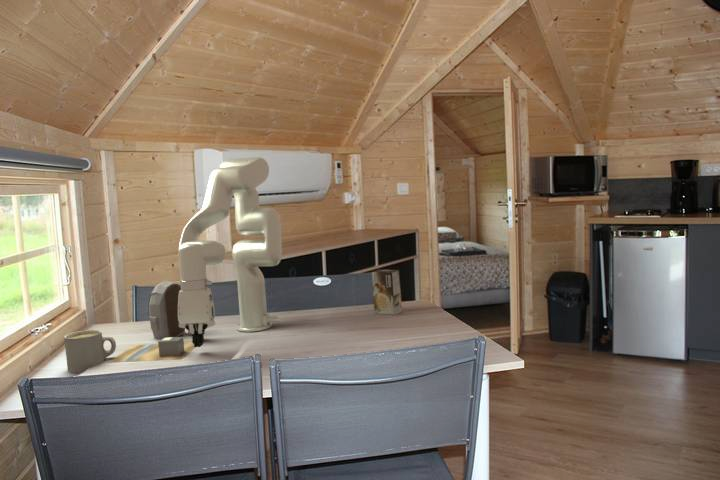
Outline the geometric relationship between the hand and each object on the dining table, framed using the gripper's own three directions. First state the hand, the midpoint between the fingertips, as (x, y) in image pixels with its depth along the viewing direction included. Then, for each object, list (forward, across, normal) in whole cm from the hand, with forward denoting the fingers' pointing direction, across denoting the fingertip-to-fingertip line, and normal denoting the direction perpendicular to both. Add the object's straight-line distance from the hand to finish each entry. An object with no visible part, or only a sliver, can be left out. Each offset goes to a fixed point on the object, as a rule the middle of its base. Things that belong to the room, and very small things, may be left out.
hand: (198, 345), depth 175 cm
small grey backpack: (+4, +19, -26) cm, 32 cm away
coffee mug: (+4, +31, +4) cm, 31 cm away
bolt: (+4, +5, -14) cm, 16 cm away
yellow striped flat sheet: (+4, +14, -4) cm, 15 cm away
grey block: (+2, +8, 0) cm, 9 cm away
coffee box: (+3, -57, -48) cm, 75 cm away
